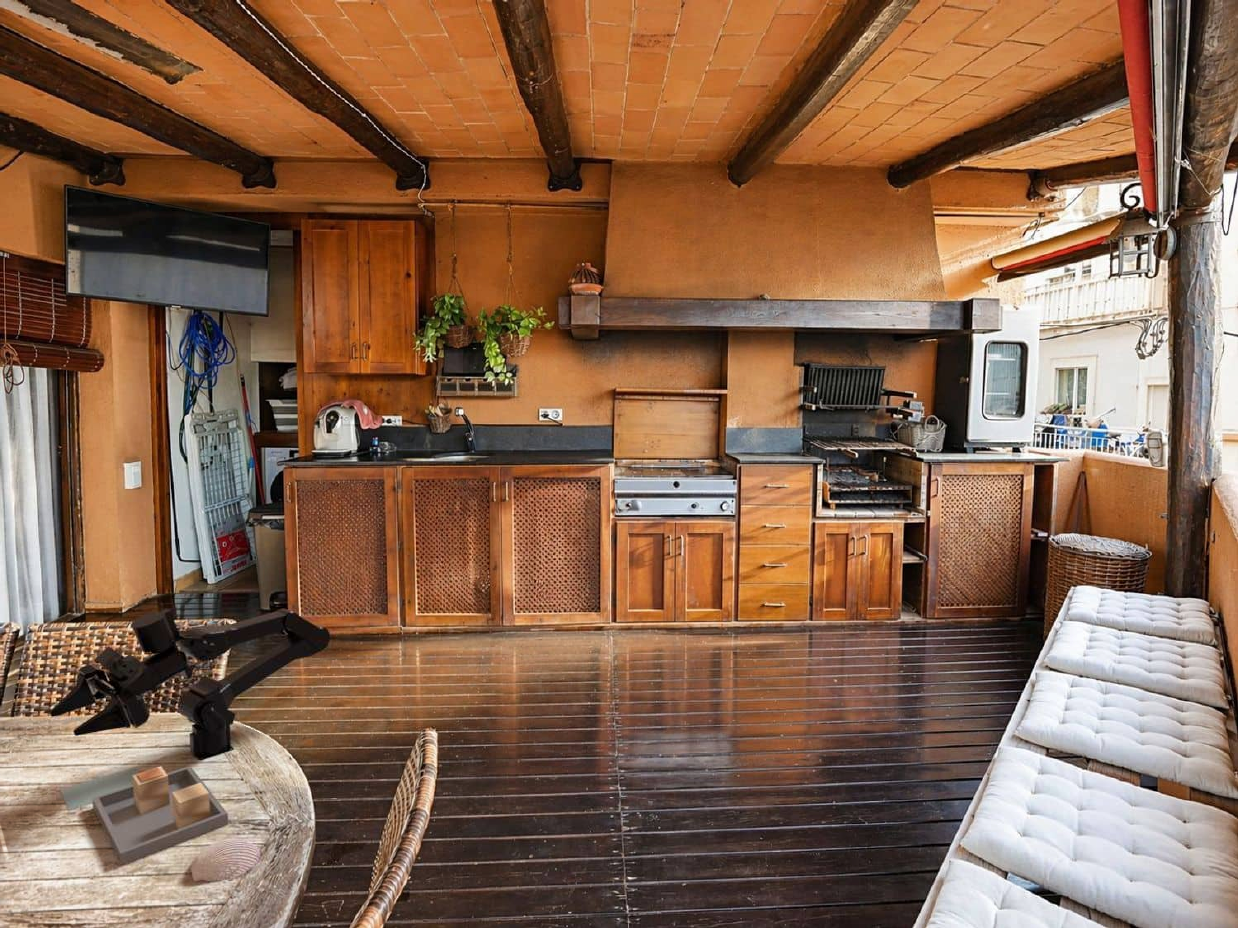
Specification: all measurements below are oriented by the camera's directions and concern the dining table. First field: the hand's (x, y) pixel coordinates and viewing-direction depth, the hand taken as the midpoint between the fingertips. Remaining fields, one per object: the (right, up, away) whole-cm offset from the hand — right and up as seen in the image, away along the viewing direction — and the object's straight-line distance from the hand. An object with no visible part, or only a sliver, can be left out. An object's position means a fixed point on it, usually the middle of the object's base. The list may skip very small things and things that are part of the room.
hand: (62, 723), depth 130 cm
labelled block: (+14, -16, +3) cm, 21 cm away
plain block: (+24, -16, -2) cm, 29 cm away
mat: (+2, -15, +8) cm, 17 cm away
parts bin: (+17, -17, 0) cm, 24 cm away
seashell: (+35, -19, -12) cm, 42 cm away
